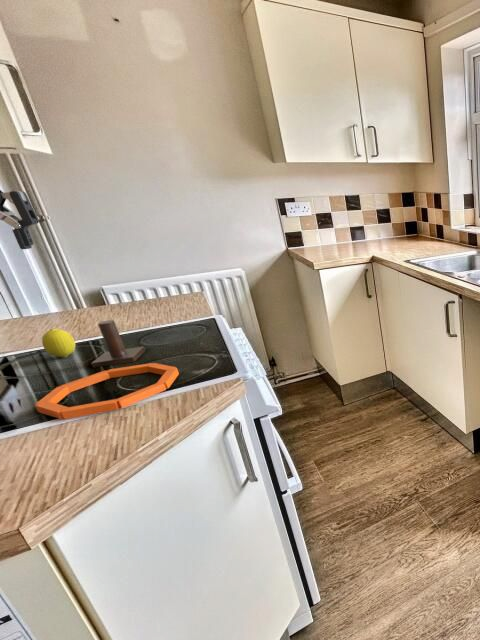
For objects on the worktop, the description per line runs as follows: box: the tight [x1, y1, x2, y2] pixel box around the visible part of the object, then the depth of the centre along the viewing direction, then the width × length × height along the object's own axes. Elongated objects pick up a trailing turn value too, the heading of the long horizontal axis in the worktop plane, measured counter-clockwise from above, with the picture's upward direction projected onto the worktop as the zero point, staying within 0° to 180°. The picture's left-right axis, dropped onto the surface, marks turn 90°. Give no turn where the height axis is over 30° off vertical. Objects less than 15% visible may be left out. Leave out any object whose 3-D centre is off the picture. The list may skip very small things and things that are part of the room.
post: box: [90, 319, 146, 369], centre depth 104 cm, size 8×8×10 cm
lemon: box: [41, 328, 76, 359], centre depth 106 cm, size 6×6×8 cm
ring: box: [34, 362, 180, 420], centre depth 88 cm, size 21×21×2 cm
